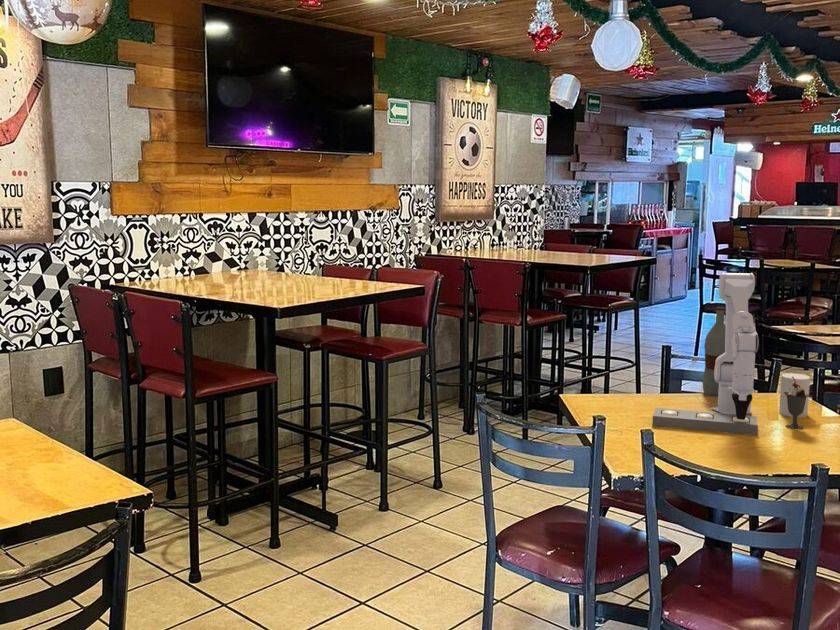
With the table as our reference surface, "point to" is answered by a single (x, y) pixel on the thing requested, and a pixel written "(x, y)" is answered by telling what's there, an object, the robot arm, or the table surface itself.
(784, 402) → the cup
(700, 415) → the button mid
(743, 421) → the button
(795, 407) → the sundae
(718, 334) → the bottle
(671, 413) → the button
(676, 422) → the control strip
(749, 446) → the table surface
